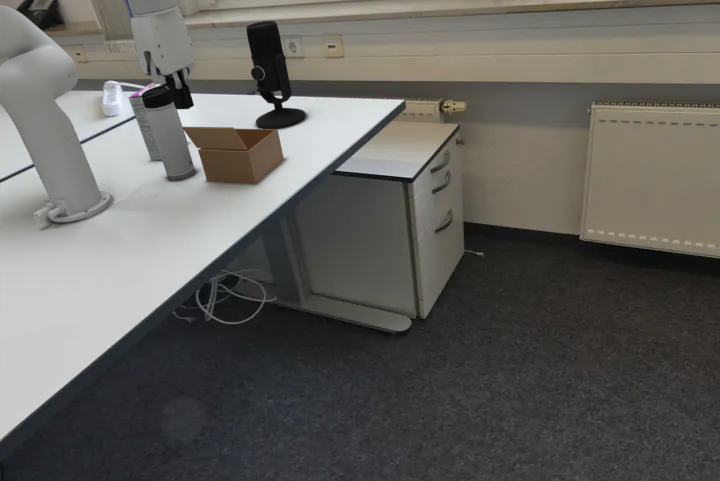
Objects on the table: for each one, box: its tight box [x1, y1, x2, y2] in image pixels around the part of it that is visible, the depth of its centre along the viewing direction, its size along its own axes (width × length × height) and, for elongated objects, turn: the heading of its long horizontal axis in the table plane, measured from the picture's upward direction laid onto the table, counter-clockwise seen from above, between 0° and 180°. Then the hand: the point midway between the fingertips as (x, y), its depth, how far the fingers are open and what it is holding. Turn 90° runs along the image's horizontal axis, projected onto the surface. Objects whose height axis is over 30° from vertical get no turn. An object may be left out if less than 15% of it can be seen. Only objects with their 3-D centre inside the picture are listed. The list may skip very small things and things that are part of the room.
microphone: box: [245, 20, 307, 130], centre depth 148 cm, size 14×14×25 cm
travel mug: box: [141, 85, 196, 181], centre depth 125 cm, size 6×7×20 cm
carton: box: [197, 128, 285, 185], centre depth 126 cm, size 13×13×7 cm
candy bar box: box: [128, 82, 188, 162], centre depth 140 cm, size 11×5×16 cm, turn 168°
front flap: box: [182, 126, 247, 150], centre depth 116 cm, size 6×12×1 cm
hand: (185, 107), depth 107 cm, fingers closed
